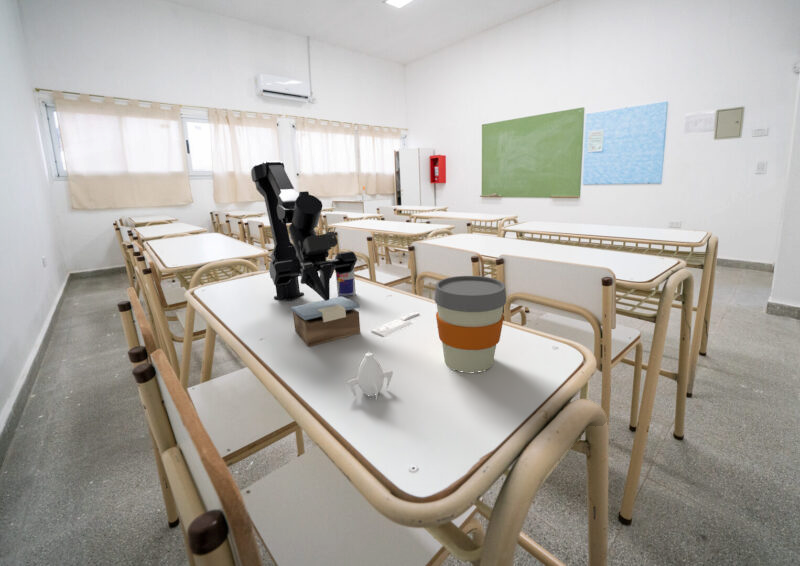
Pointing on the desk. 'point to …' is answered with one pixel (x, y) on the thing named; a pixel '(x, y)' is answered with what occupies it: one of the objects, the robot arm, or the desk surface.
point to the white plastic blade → (394, 325)
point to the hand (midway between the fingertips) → (327, 299)
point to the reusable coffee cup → (469, 320)
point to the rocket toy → (370, 376)
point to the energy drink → (346, 284)
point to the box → (326, 328)
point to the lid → (325, 309)
